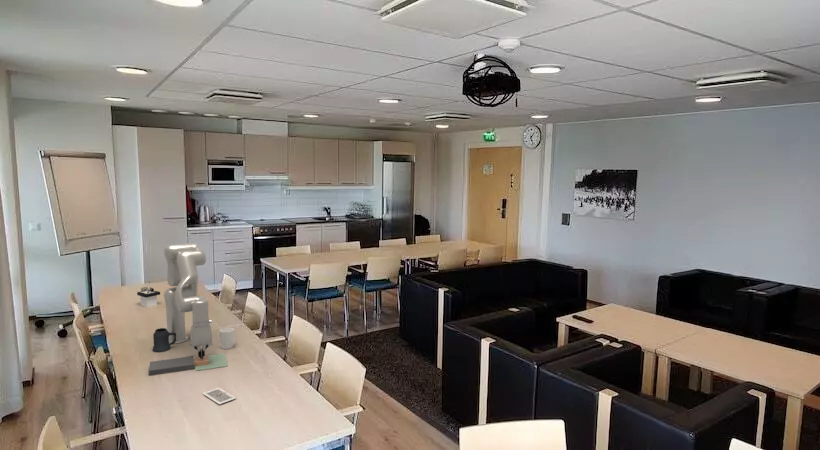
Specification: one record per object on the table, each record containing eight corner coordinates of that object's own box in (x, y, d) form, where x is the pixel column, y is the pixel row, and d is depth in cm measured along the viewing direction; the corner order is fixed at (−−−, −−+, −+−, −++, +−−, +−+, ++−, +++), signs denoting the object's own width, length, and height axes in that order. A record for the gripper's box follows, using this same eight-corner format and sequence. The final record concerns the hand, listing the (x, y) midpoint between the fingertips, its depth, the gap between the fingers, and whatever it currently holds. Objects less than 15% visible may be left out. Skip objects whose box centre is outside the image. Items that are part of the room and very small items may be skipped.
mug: (152, 353, 258) (151, 333, 257) (152, 347, 266) (151, 328, 265) (177, 349, 264) (176, 330, 263) (175, 344, 272) (175, 325, 271)
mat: (194, 358, 253) (194, 357, 253) (224, 354, 260) (224, 353, 260) (195, 371, 237) (195, 370, 237) (227, 366, 244) (227, 365, 243)
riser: (150, 366, 241) (150, 361, 241) (193, 360, 250) (193, 355, 250) (148, 375, 231) (148, 370, 230) (194, 369, 239) (194, 364, 239)
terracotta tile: (193, 361, 248) (193, 357, 248) (208, 359, 251) (208, 355, 251) (194, 366, 242) (194, 362, 241) (209, 364, 245) (209, 360, 244)
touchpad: (219, 406, 203) (219, 401, 203) (202, 395, 213) (202, 391, 212) (236, 400, 209) (236, 395, 209) (219, 389, 219) (218, 385, 218)
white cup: (219, 349, 266) (218, 332, 265) (220, 345, 273) (220, 328, 272) (234, 348, 268) (233, 331, 267) (235, 343, 275) (235, 327, 274)
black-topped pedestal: (177, 304, 353) (176, 287, 352) (141, 313, 331) (140, 294, 329) (155, 299, 368) (155, 282, 366) (120, 306, 346) (119, 288, 344)
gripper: (215, 319, 251) (216, 353, 253) (184, 322, 244) (185, 357, 246) (216, 323, 244) (217, 358, 246) (184, 327, 237) (185, 362, 239)
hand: (201, 357), depth 246 cm, fingers closed
